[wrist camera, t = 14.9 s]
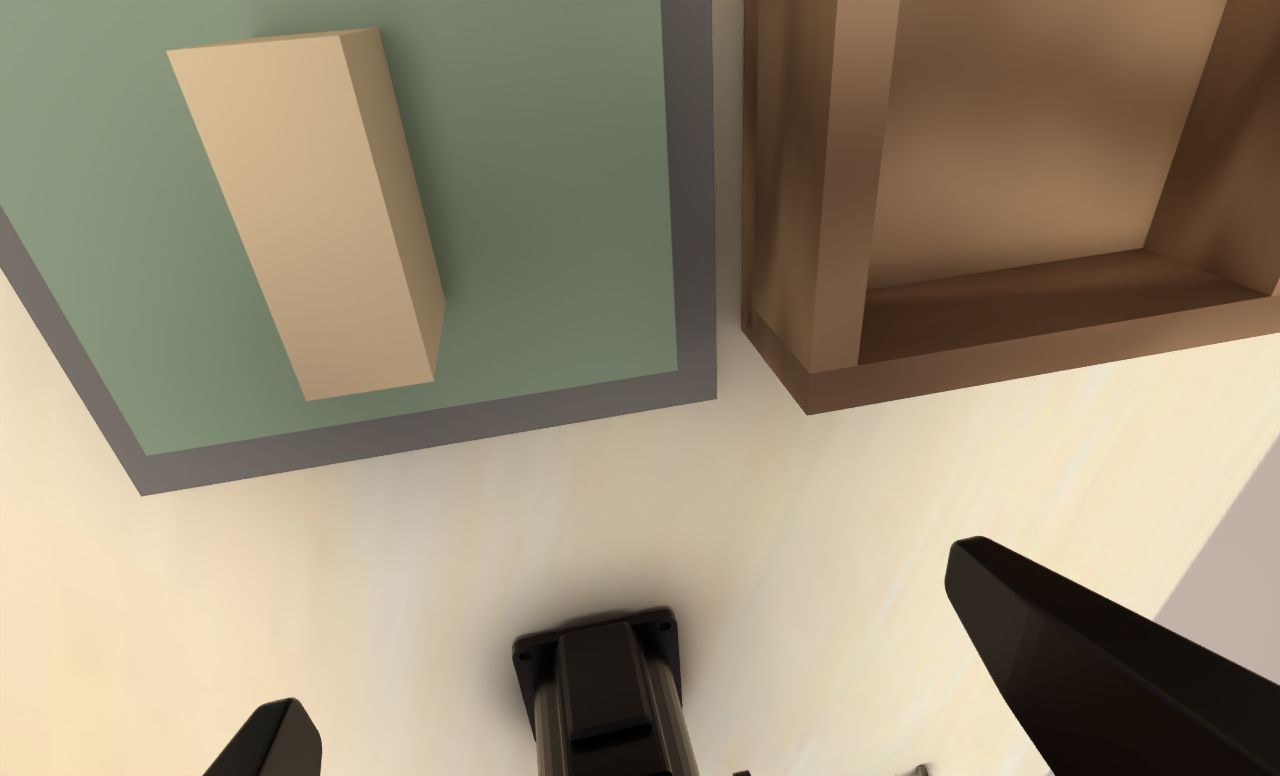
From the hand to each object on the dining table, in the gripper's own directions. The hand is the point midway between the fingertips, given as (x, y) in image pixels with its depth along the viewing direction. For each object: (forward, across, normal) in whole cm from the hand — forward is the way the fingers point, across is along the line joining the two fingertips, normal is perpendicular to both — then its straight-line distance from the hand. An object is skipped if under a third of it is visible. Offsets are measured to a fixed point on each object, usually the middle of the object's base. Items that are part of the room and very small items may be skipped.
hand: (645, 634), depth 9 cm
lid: (+11, +4, -4) cm, 13 cm away
